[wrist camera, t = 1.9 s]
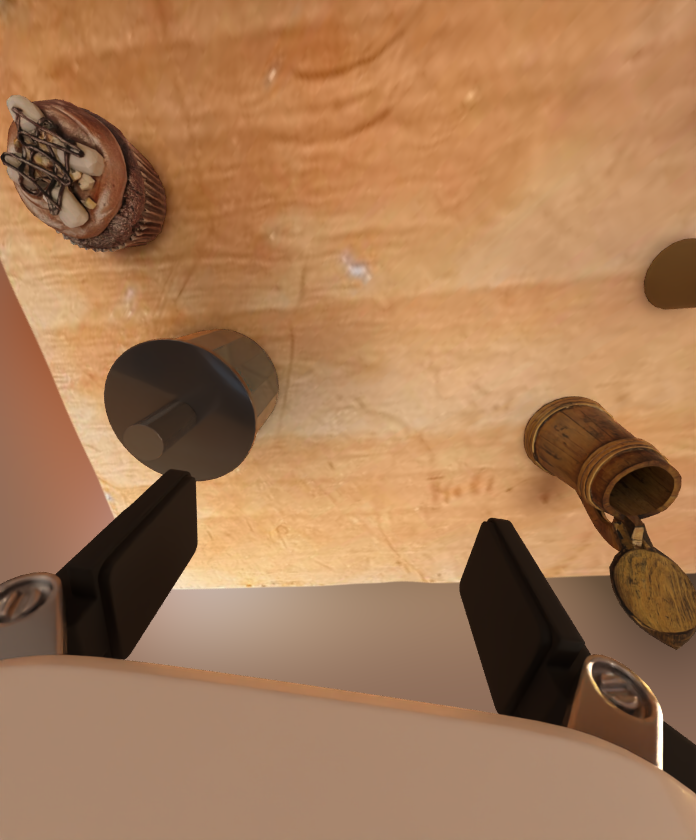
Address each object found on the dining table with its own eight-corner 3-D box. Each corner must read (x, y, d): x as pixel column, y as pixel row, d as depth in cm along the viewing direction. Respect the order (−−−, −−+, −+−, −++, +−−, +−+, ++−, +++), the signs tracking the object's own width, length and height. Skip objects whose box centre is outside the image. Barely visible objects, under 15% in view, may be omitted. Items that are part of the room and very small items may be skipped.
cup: (169, 413, 39) (111, 451, 30) (181, 313, 34) (118, 324, 26) (266, 442, 40) (238, 488, 31) (289, 349, 35) (264, 371, 27)
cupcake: (79, 110, 28) (-59, 27, 19) (189, 167, 30) (109, 115, 20) (66, 227, 32) (-57, 204, 23) (164, 274, 33) (87, 271, 24)
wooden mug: (511, 501, 41) (610, 650, 25) (531, 396, 36) (673, 495, 19) (586, 501, 41) (739, 653, 24) (617, 395, 36) (839, 495, 19)
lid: (110, 451, 31) (52, 490, 25) (117, 315, 26) (47, 324, 20) (244, 490, 32) (218, 536, 26) (274, 365, 27) (249, 388, 21)
